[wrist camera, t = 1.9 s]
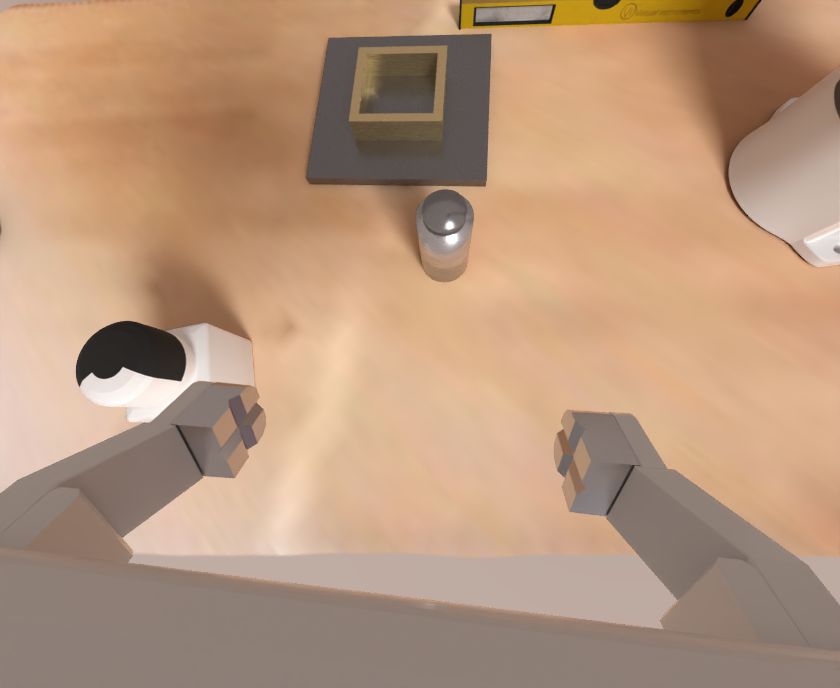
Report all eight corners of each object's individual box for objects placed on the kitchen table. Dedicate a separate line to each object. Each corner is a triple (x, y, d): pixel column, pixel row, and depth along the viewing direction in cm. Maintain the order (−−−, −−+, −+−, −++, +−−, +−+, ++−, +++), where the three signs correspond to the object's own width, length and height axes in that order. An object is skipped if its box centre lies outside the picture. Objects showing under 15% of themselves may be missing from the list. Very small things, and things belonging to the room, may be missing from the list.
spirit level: (743, 14, 40) (766, -18, 37) (744, 22, 40) (768, -9, 37) (459, 23, 43) (460, -6, 40) (458, 31, 42) (459, 3, 40)
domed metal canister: (468, 240, 36) (475, 183, 27) (466, 283, 35) (473, 237, 26) (423, 239, 36) (416, 182, 28) (420, 281, 35) (412, 235, 27)
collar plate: (490, 43, 41) (494, 9, 38) (485, 186, 37) (489, 162, 34) (331, 46, 43) (321, 14, 40) (309, 183, 39) (296, 161, 35)
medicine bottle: (187, 353, 35) (60, 321, 24) (253, 339, 35) (157, 301, 24) (189, 421, 34) (54, 423, 22) (258, 408, 34) (158, 403, 22)
